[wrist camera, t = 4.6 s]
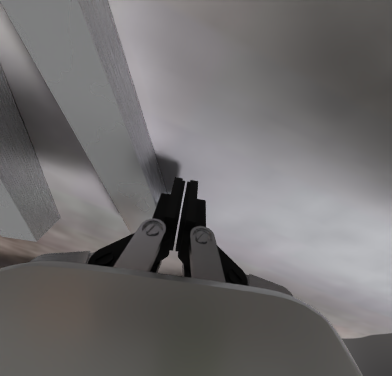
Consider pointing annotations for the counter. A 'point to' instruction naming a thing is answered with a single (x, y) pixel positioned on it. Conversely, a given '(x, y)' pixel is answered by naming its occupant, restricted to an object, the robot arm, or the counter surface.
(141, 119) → the arm
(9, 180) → the base
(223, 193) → the counter surface
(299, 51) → the counter surface
